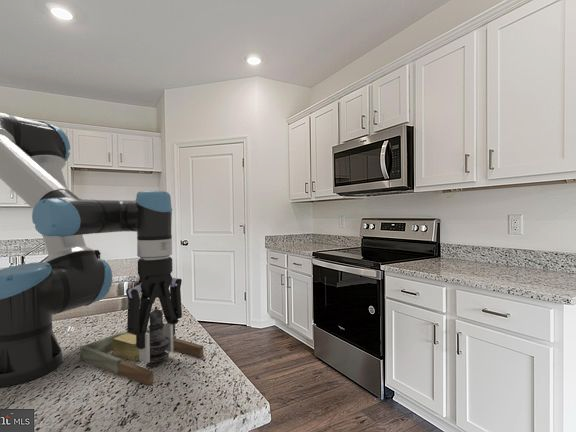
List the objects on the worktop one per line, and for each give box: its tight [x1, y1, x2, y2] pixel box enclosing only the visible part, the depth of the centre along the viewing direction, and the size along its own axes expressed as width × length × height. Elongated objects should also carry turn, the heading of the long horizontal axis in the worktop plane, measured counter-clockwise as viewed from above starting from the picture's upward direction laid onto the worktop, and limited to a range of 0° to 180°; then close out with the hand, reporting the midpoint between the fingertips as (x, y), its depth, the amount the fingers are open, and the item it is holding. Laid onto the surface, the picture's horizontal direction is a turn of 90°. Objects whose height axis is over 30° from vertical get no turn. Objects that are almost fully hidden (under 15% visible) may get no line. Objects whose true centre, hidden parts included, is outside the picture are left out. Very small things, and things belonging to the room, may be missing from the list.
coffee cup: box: [93, 249, 102, 259], centre depth 191 cm, size 9×8×13 cm
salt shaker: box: [147, 305, 170, 363], centre depth 76 cm, size 6×6×12 cm
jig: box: [79, 327, 204, 386], centre depth 79 cm, size 16×25×3 cm, turn 60°
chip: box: [112, 333, 136, 358], centre depth 82 cm, size 4×4×4 cm
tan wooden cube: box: [122, 336, 139, 362], centre depth 80 cm, size 4×4×4 cm
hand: (156, 355), depth 76 cm, fingers closed on salt shaker, 6 cm apart
